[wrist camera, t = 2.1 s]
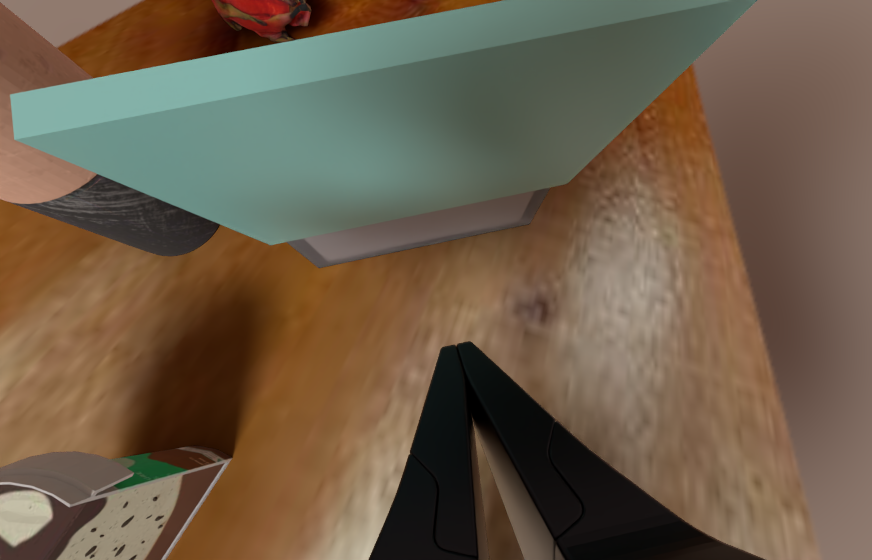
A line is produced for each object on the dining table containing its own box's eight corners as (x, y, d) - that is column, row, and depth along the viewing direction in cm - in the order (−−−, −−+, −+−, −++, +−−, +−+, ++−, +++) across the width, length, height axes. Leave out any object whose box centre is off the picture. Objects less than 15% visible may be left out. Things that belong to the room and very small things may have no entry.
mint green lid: (562, 166, 18) (567, 183, 18) (267, 226, 17) (270, 245, 17) (749, -46, 7) (763, -6, 7) (9, 94, 7) (14, 139, 7)
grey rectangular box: (529, 223, 25) (561, 168, 18) (318, 268, 24) (269, 228, 17) (495, 116, 27) (511, 32, 20) (305, 154, 27) (257, 81, 20)
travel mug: (228, 164, 27) (-330, -364, 8) (228, 251, 25) (-543, -170, 5) (135, 179, 27) (-676, -318, 7) (126, 268, 25) (-1026, -101, 5)
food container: (176, 386, 22) (-30, 398, 13) (247, 435, 21) (81, 490, 12) (38, 574, 20) (-358, 773, 10) (112, 641, 19) (-248, 932, 9)
